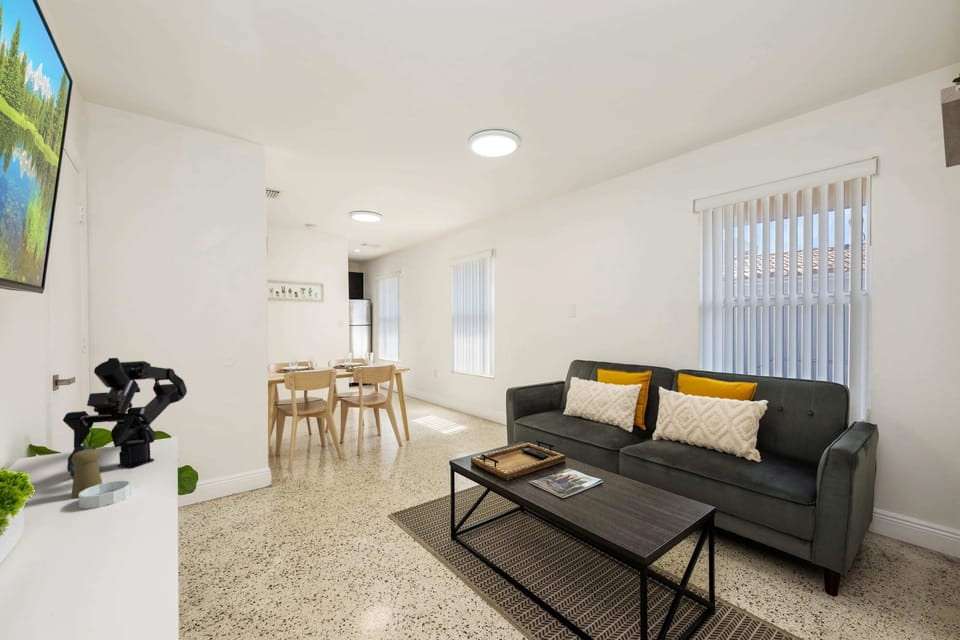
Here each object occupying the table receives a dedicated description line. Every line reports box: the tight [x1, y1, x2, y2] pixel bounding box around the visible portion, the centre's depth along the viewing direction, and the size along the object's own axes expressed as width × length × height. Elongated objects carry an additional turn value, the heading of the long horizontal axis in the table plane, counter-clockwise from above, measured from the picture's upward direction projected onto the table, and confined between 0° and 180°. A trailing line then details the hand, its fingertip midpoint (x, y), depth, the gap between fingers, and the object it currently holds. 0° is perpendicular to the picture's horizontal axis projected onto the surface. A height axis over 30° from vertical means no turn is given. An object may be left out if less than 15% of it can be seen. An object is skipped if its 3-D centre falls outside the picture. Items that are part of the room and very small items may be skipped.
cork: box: [70, 448, 103, 499], centre depth 106 cm, size 6×6×11 cm
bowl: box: [78, 479, 132, 510], centre depth 102 cm, size 9×9×3 cm
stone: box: [66, 444, 97, 477], centre depth 118 cm, size 14×6×10 cm, turn 44°
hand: (96, 446), depth 110 cm, fingers open, 9 cm apart
